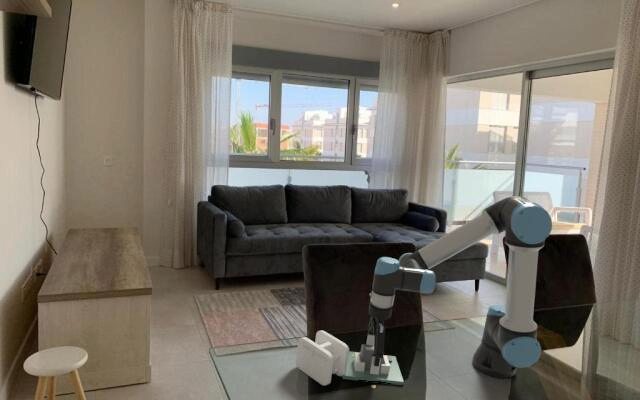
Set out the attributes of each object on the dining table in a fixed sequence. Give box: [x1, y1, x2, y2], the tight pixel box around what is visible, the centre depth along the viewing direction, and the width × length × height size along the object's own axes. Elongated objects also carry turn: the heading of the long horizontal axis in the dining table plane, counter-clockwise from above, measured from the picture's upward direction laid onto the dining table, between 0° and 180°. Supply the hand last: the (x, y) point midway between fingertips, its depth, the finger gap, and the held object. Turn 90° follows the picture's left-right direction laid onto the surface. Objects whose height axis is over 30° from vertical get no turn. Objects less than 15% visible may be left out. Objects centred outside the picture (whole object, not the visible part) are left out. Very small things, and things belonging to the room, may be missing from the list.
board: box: [341, 350, 405, 386], centre depth 167 cm, size 20×16×4 cm
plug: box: [359, 343, 383, 371], centre depth 165 cm, size 7×4×8 cm, turn 92°
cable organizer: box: [295, 330, 350, 386], centre depth 160 cm, size 15×11×12 cm
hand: (371, 362), depth 166 cm, fingers open, 13 cm apart
